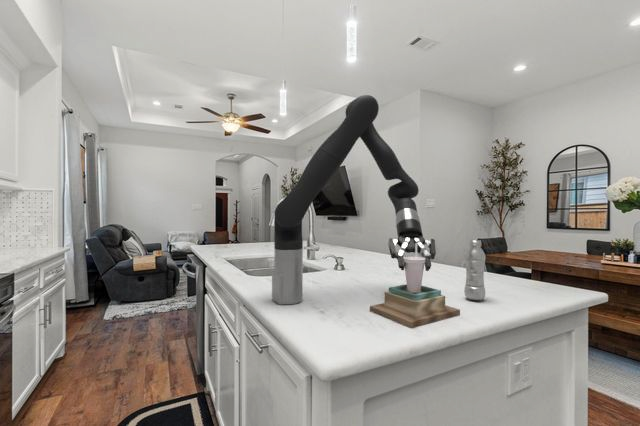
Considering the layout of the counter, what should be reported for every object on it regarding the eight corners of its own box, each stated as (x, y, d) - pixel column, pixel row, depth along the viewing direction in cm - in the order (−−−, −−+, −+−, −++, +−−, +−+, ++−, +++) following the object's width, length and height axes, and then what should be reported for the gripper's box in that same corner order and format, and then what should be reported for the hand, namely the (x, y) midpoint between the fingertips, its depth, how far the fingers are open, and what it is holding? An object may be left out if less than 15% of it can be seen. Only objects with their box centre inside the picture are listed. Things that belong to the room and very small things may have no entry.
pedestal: (411, 328, 82) (411, 300, 82) (369, 311, 95) (369, 287, 95) (460, 314, 92) (460, 290, 92) (416, 301, 106) (416, 279, 106)
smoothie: (426, 294, 90) (427, 244, 90) (403, 293, 92) (403, 244, 91) (424, 288, 97) (424, 242, 96) (402, 287, 98) (402, 241, 98)
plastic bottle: (464, 301, 106) (465, 240, 106) (463, 296, 112) (464, 239, 112) (486, 303, 103) (487, 241, 103) (484, 298, 110) (485, 239, 109)
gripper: (386, 217, 102) (391, 260, 90) (433, 217, 100) (444, 262, 89) (384, 232, 107) (388, 275, 96) (429, 233, 106) (438, 277, 94)
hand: (415, 268), depth 92 cm, fingers open, 6 cm apart
